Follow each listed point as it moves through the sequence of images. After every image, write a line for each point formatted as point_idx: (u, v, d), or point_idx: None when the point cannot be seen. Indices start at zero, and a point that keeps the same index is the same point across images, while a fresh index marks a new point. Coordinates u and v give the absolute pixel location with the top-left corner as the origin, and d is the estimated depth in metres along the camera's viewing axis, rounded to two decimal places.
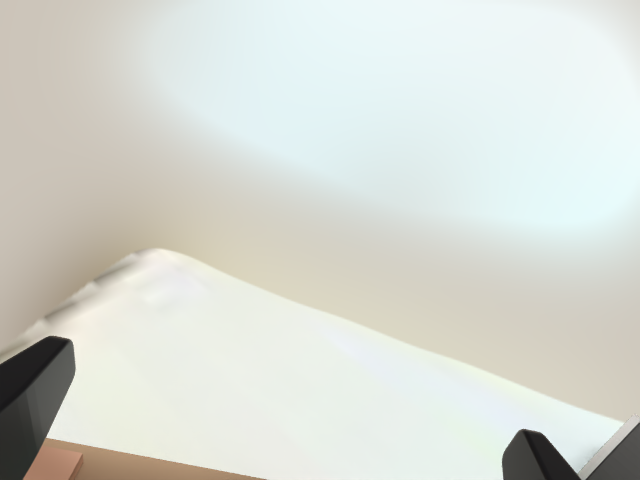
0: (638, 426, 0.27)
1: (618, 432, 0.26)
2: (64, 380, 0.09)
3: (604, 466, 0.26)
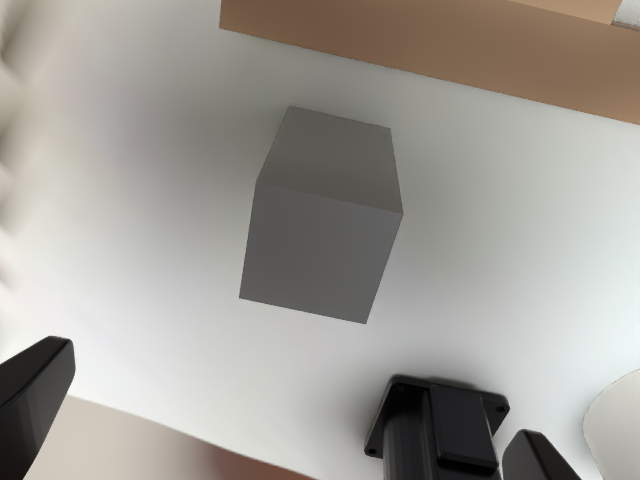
0: None
1: None
2: (64, 380, 0.09)
3: None
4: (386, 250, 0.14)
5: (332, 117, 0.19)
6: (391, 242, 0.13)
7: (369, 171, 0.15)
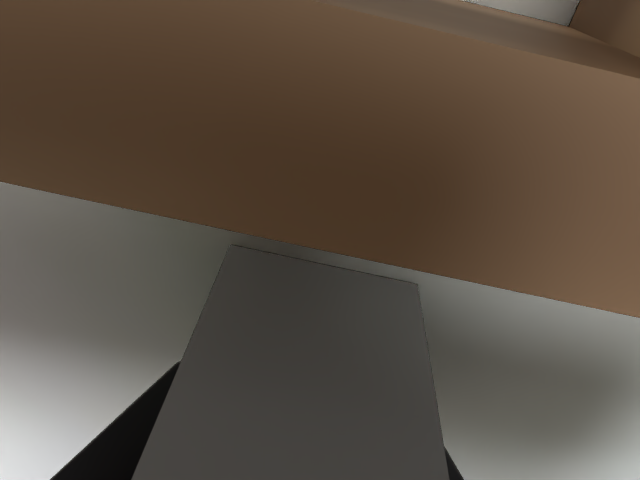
0: None
1: None
2: None
3: None
4: None
5: (310, 268, 0.10)
6: None
7: None
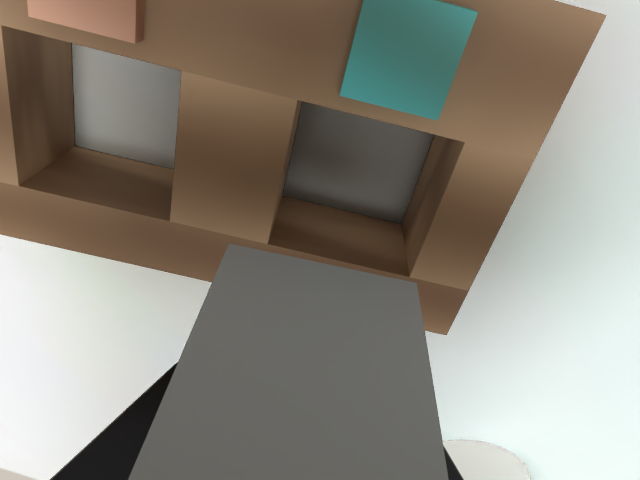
0: None
1: None
2: None
3: None
4: None
5: (309, 266, 0.10)
6: None
7: None
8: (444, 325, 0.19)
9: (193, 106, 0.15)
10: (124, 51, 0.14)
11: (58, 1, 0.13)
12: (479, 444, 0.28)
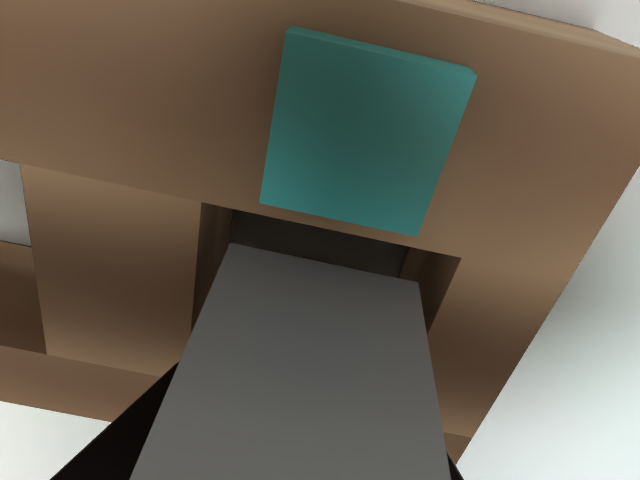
0: None
1: None
2: None
3: None
4: None
5: (310, 266, 0.10)
6: None
7: None
8: None
9: (48, 211, 0.10)
10: None
11: None
12: None
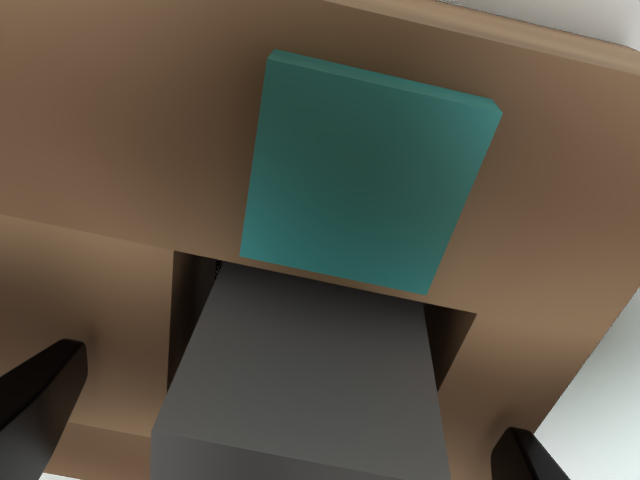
0: None
1: None
2: (77, 383, 0.09)
3: None
4: None
5: None
6: None
7: (380, 346, 0.08)
8: None
9: None
10: None
11: None
12: None
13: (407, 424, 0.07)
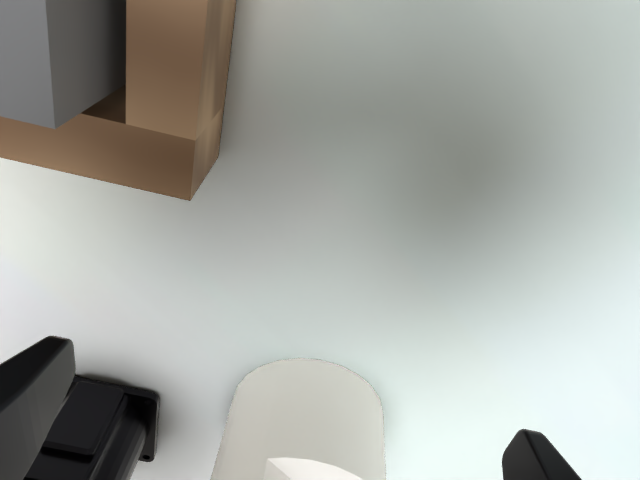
0: None
1: None
2: (64, 380, 0.09)
3: None
4: (42, 17, 0.11)
5: None
6: (43, 4, 0.11)
7: None
8: (184, 187, 0.17)
9: None
10: None
11: None
12: (317, 362, 0.26)
13: None
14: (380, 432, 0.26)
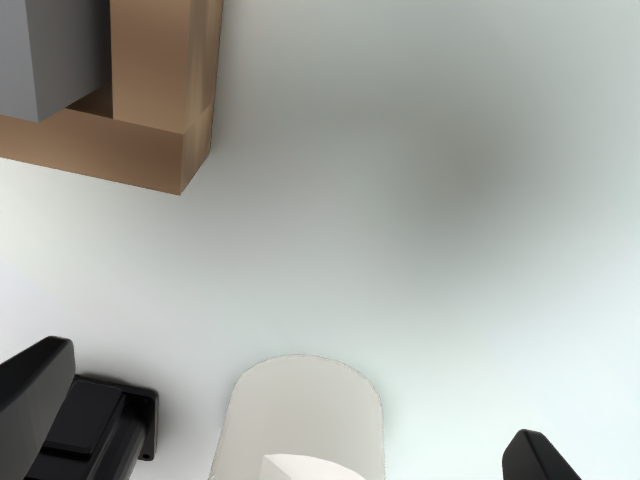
0: None
1: None
2: (64, 380, 0.09)
3: None
4: (21, 9, 0.11)
5: None
6: None
7: None
8: (173, 182, 0.17)
9: None
10: None
11: None
12: (314, 358, 0.26)
13: None
14: (379, 428, 0.26)
